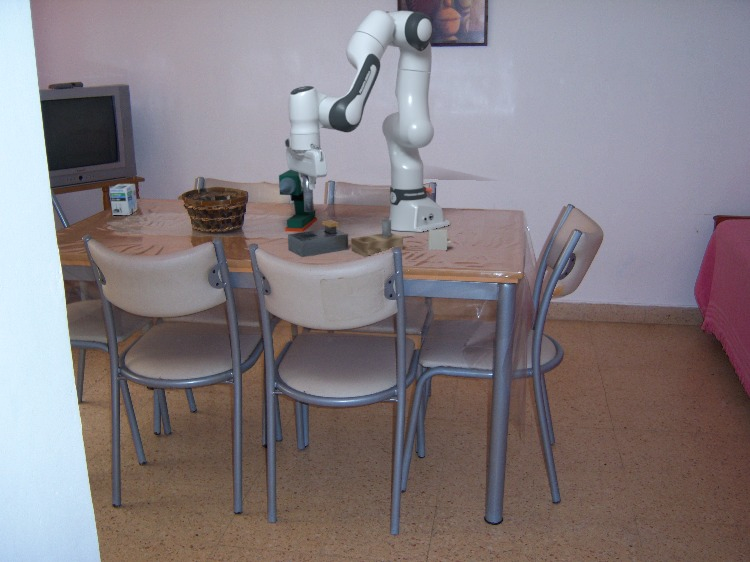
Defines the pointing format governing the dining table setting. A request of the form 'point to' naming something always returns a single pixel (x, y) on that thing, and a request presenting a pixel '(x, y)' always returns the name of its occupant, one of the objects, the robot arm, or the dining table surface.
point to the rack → (376, 241)
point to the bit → (307, 195)
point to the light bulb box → (123, 199)
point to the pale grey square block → (438, 239)
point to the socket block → (317, 242)
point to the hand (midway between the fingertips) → (308, 188)
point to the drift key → (330, 226)
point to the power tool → (296, 202)
